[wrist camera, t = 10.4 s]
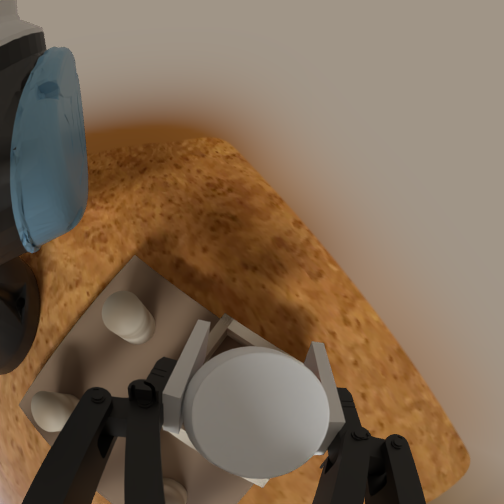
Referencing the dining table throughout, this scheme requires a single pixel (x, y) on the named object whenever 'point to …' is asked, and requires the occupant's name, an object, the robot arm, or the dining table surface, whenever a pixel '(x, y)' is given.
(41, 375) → the wooden organizer tray
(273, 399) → the pill bottle
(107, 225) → the dining table surface
